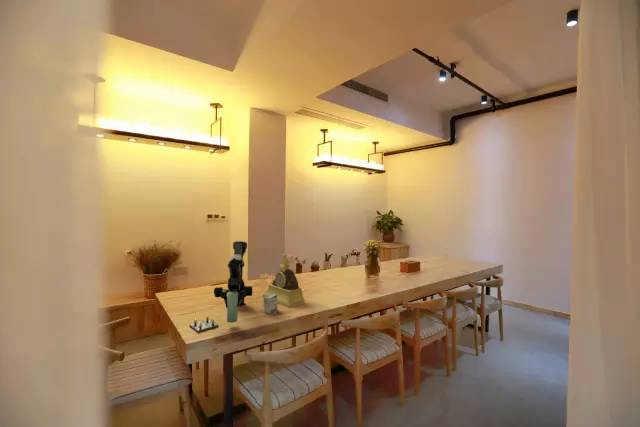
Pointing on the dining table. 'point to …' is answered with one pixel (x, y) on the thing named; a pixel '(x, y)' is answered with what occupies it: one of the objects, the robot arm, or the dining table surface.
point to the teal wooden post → (232, 306)
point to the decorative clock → (286, 287)
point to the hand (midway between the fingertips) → (232, 307)
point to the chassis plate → (203, 325)
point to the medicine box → (270, 303)
